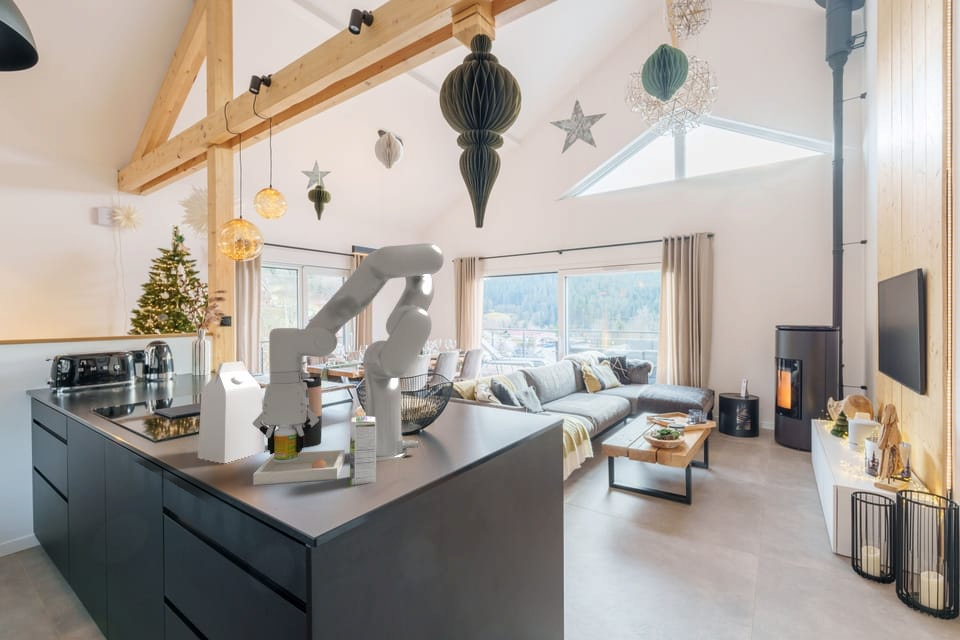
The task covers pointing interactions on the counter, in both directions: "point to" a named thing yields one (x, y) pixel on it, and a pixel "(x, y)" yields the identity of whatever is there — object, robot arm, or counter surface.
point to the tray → (300, 468)
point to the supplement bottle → (285, 443)
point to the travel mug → (314, 411)
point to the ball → (318, 464)
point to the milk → (230, 415)
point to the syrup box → (363, 450)
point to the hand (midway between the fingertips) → (286, 451)
